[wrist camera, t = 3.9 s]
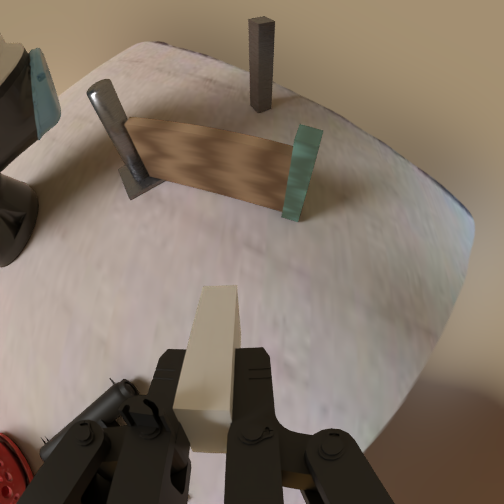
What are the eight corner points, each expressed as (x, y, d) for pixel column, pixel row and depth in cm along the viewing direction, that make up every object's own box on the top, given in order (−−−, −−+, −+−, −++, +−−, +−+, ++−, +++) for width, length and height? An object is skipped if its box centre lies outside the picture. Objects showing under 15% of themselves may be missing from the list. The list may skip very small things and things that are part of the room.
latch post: (258, 113, 40) (258, 23, 25) (250, 105, 41) (248, 19, 26) (271, 108, 40) (275, 21, 25) (262, 100, 41) (264, 16, 26)
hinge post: (130, 200, 34) (75, 115, 20) (119, 171, 36) (72, 90, 21) (169, 178, 36) (131, 84, 21) (155, 151, 37) (119, 64, 22)
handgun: (218, 482, 21) (110, 370, 24) (111, 536, 16) (27, 445, 19) (221, 469, 24) (123, 368, 27) (119, 526, 19) (41, 440, 22)
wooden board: (150, 181, 35) (114, 110, 23) (157, 169, 36) (125, 98, 23) (297, 222, 32) (319, 146, 20) (302, 208, 33) (323, 130, 21)
